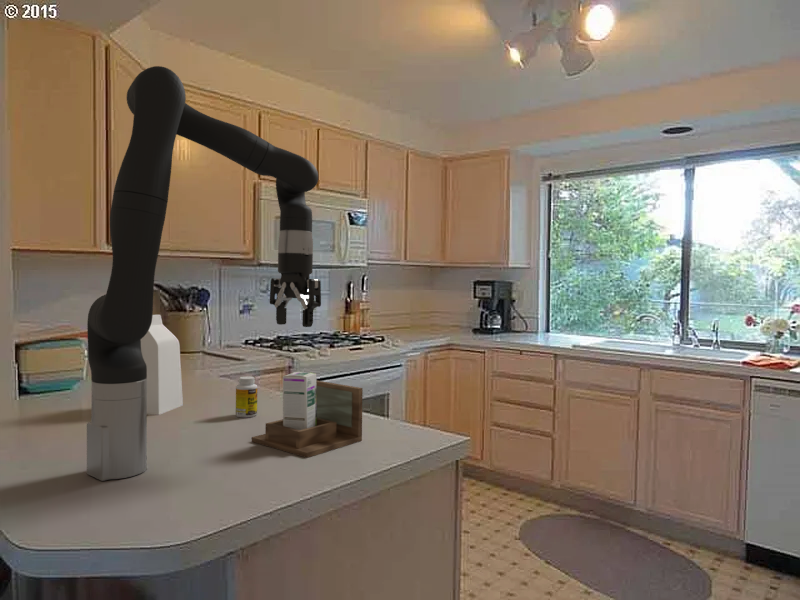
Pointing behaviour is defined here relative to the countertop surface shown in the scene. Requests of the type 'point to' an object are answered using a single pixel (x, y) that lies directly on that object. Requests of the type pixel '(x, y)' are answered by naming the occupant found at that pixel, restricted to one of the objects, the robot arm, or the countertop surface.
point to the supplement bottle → (246, 397)
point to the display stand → (321, 423)
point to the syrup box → (299, 400)
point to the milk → (162, 368)
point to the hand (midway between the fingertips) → (294, 325)
